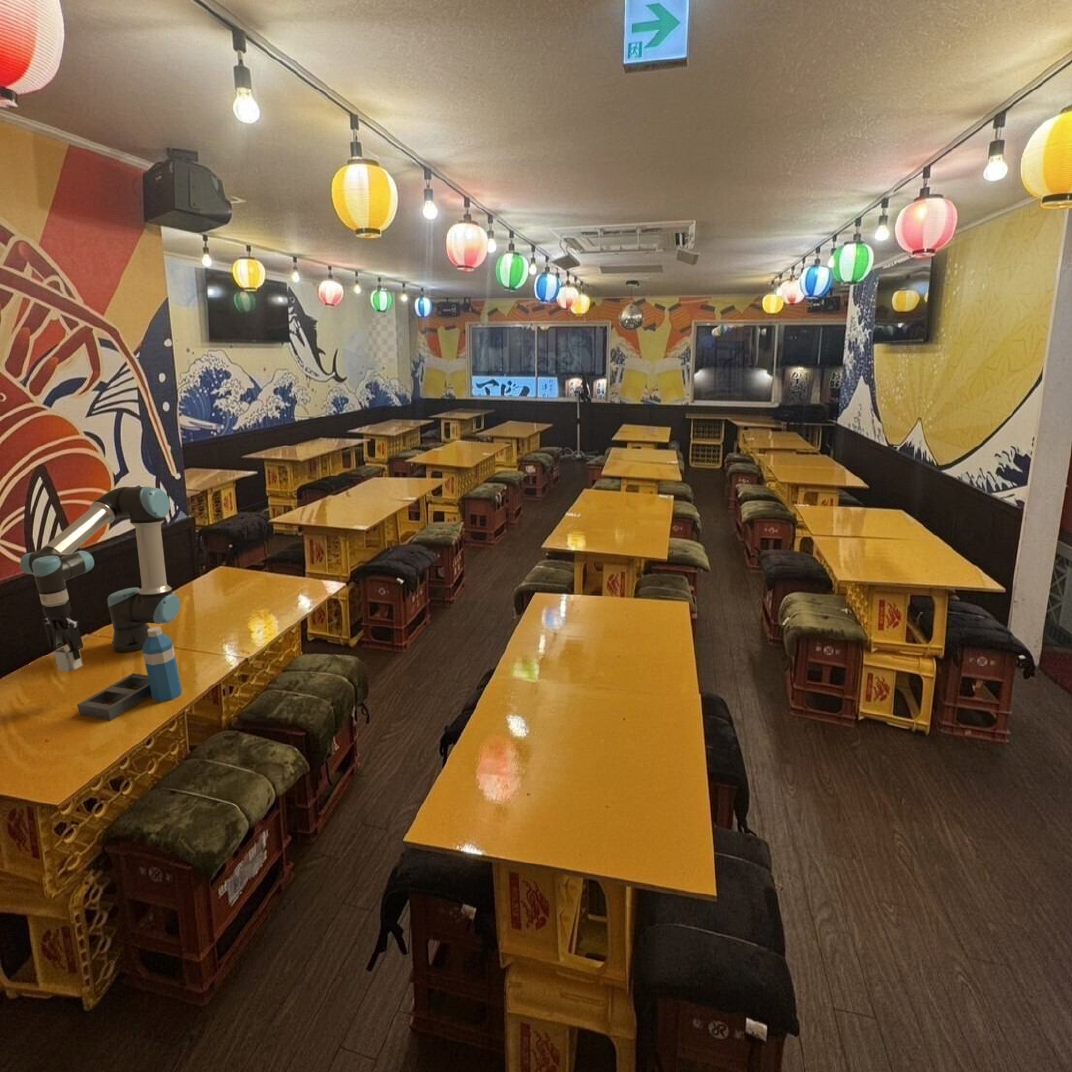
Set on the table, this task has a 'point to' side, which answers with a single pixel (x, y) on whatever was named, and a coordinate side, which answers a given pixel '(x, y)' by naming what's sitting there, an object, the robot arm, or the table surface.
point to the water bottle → (161, 666)
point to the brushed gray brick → (64, 659)
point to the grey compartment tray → (116, 698)
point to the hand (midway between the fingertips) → (71, 666)
